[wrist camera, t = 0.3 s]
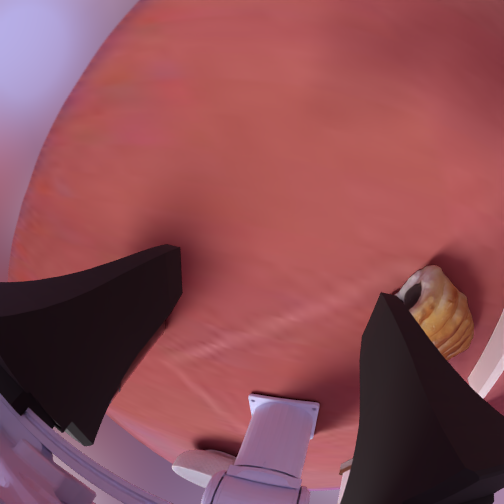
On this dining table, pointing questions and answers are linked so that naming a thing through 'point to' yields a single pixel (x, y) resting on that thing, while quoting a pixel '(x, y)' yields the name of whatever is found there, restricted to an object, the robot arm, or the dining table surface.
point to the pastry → (439, 310)
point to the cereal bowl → (202, 465)
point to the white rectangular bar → (489, 362)
